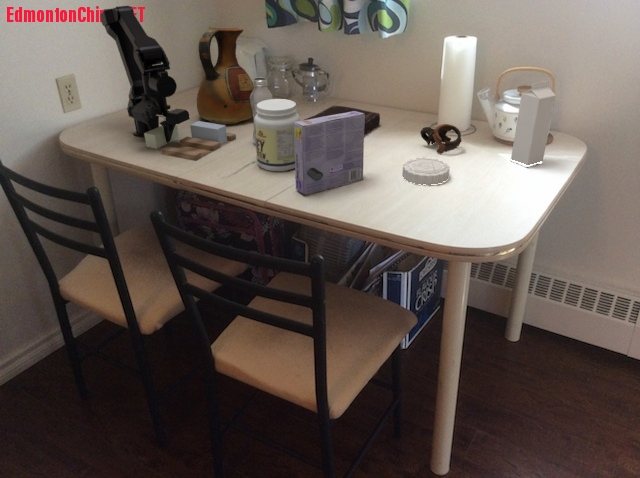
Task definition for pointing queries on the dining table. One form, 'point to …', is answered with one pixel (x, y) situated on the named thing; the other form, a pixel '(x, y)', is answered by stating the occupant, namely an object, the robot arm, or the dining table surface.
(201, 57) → the ceramic pitcher
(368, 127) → the diary
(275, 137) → the supplement tub
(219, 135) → the slate block
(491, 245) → the dining table surface
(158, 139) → the sage block
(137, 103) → the robot arm
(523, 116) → the milk
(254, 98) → the plastic bottle
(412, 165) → the mooncake
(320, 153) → the cake pan box
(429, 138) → the brown coiled piece
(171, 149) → the slot rack
